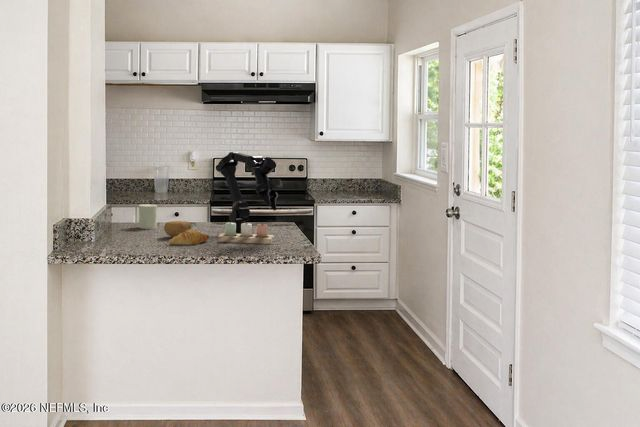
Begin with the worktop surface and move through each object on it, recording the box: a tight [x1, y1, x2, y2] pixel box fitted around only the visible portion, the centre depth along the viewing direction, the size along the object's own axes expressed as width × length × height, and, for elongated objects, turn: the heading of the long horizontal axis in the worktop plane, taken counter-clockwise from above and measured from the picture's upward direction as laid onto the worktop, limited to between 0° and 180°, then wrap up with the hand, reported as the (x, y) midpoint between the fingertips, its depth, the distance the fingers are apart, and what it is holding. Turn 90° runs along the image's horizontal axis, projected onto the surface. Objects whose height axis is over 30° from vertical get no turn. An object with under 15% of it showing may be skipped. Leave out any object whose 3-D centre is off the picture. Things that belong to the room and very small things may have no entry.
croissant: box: [168, 228, 210, 246], centre depth 368 cm, size 21×10×8 cm
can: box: [138, 203, 158, 230], centre depth 411 cm, size 9×9×12 cm
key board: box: [217, 232, 275, 245], centre depth 380 cm, size 25×11×2 cm, turn 87°
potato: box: [163, 220, 192, 238], centre depth 384 cm, size 10×14×8 cm
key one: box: [224, 222, 237, 236], centre depth 380 cm, size 5×5×6 cm
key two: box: [241, 222, 253, 236], centre depth 380 cm, size 5×5×6 cm
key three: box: [256, 223, 269, 237], centre depth 380 cm, size 5×5×6 cm
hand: (272, 207), depth 383 cm, fingers open, 9 cm apart
